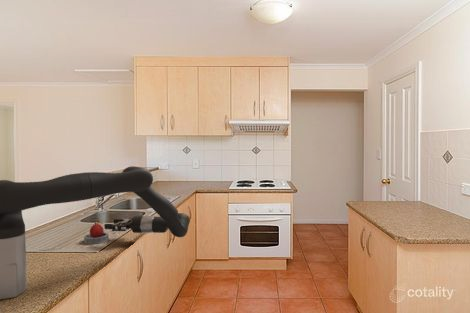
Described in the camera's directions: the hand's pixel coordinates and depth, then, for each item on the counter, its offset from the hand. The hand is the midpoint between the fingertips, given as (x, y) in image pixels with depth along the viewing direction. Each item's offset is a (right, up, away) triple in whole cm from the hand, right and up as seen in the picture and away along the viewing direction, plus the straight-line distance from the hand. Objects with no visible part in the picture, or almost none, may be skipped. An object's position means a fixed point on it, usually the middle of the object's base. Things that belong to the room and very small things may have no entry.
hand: (109, 223), depth 145 cm
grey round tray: (-6, -8, +1) cm, 10 cm away
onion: (-6, -7, +1) cm, 10 cm away
